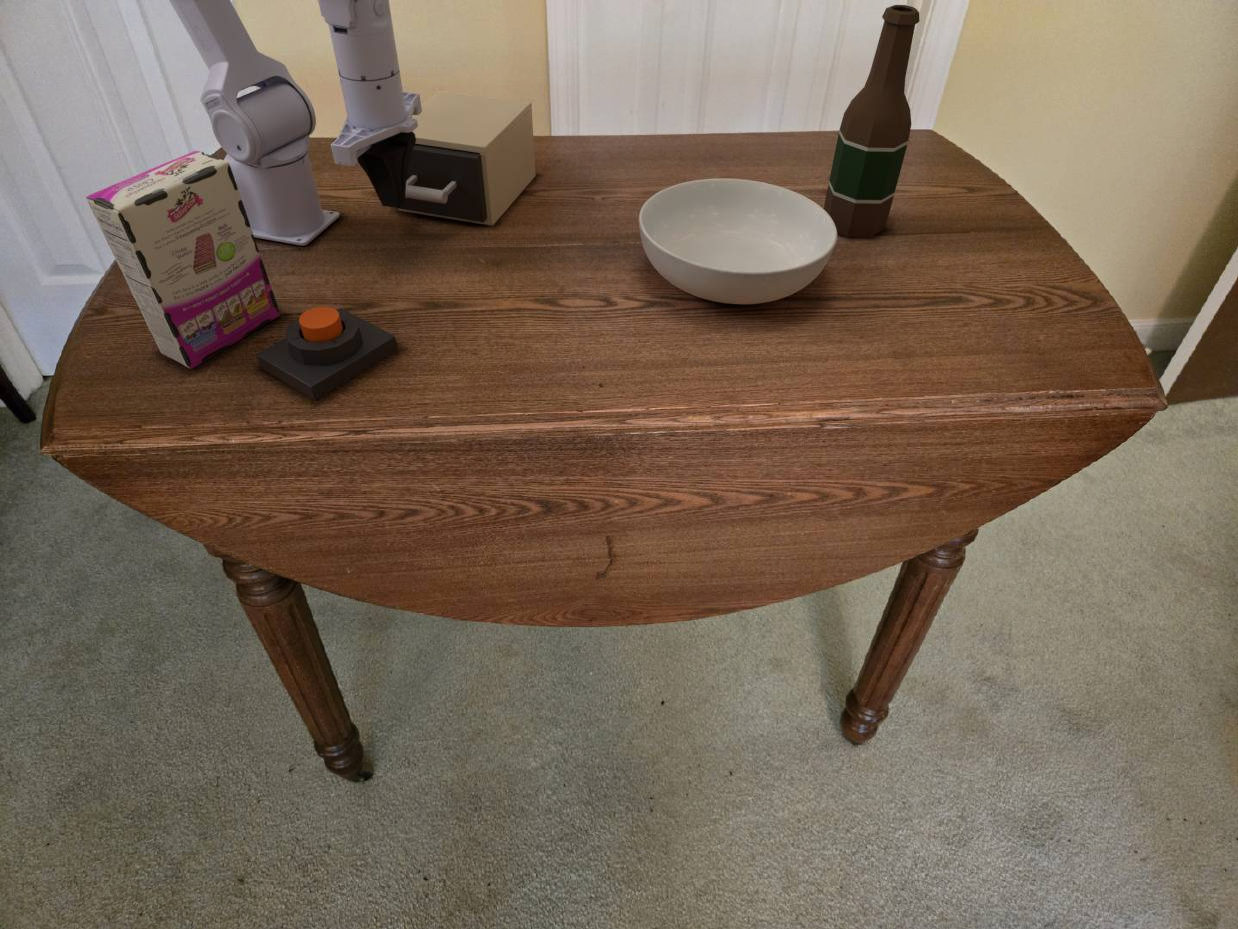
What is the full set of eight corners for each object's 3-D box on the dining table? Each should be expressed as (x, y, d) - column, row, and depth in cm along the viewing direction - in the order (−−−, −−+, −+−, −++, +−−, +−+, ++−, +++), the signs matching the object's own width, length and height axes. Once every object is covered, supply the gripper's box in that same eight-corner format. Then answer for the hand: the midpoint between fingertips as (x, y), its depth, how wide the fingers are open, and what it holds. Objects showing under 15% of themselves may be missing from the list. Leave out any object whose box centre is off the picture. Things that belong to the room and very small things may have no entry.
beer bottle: (814, 231, 99) (858, 13, 82) (827, 204, 104) (871, -7, 87) (879, 244, 97) (937, 23, 80) (889, 216, 102) (946, 2, 85)
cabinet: (492, 225, 99) (485, 147, 92) (398, 210, 101) (384, 132, 94) (535, 175, 109) (531, 101, 102) (449, 162, 111) (439, 89, 105)
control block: (315, 401, 74) (306, 370, 72) (261, 368, 78) (250, 338, 75) (398, 350, 80) (392, 320, 78) (344, 321, 83) (336, 292, 81)
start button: (320, 348, 75) (315, 332, 74) (295, 334, 76) (290, 318, 75) (351, 330, 77) (347, 315, 76) (326, 317, 78) (322, 302, 77)
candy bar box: (249, 302, 86) (196, 147, 74) (283, 316, 84) (233, 160, 73) (156, 355, 79) (81, 193, 67) (189, 372, 77) (118, 208, 66)
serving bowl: (779, 354, 81) (790, 293, 76) (601, 291, 88) (601, 233, 84) (852, 263, 94) (866, 207, 89) (691, 215, 101) (696, 161, 96)
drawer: (468, 239, 94) (461, 173, 89) (380, 224, 97) (367, 159, 91) (524, 175, 107) (520, 115, 101) (444, 163, 109) (436, 103, 103)
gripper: (369, 102, 73) (394, 241, 82) (440, 52, 83) (456, 181, 92) (298, 92, 74) (332, 230, 83) (377, 44, 84) (399, 172, 93)
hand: (393, 204), depth 88 cm, fingers closed
